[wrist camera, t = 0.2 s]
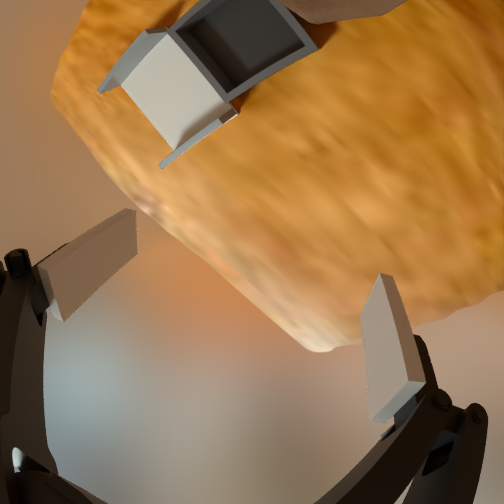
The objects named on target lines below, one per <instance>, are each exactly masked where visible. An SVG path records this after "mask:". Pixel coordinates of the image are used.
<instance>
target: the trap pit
mask: <svg viewBox="0 0 504 504" xmlns="http://www.w3.org/2000/svg"><path fill="white" fill-rule="evenodd" d="M166 33H167V34H168V35H169V36H170V37H171V38H172V39H173V40H174V42H175V43H176V44H177V45H178V46H179V47H180V48H181V50H182V51H183V52H184V53H185V54H186V55H187V57H188V58H189V59H190V60H191V61H192V63H193V64H194V65H195V66H196V67H197V69H198V70H199V71H200V72H201V73H202V75H203V76H204V77H205V78H206V80H207V81H208V82H209V83H210V85H211V86H212V87H213V88H214V90H215V91H216V92H217V93H218V95H219V96H220V97H221V98H222V100H223V101H224V102H225V104H226V103H228V102H230V101H231V100H233V99H234V98H236V97H238V96H239V95H241V94H242V93H244V92H245V91H247V90H248V89H250V88H252V87H253V86H255V85H256V84H258V83H260V82H261V81H263V80H264V79H266V78H268V77H269V76H271V75H273V74H275V73H276V72H278V71H280V70H282V69H283V68H285V67H287V66H289V65H290V64H292V63H294V62H296V61H298V60H300V59H302V58H304V57H306V56H307V55H309V54H311V53H313V52H315V51H317V50H319V49H320V47H319V46H318V45H317V43H316V42H315V40H314V39H313V38H312V36H311V35H310V34H309V32H308V31H307V30H306V28H305V27H304V26H303V25H302V23H301V22H300V21H299V19H298V18H297V17H296V16H295V14H294V13H293V12H292V11H291V10H290V9H289V8H287V7H286V6H284V5H282V4H281V3H280V2H279V1H277V0H201V1H199V2H198V3H197V4H196V5H195V6H193V7H192V8H191V9H190V10H189V11H188V12H186V13H185V14H184V15H183V16H182V17H181V18H180V19H178V20H177V21H176V22H175V23H174V24H173V25H172V26H171V27H170V28H169V29H168V30H167V31H166Z"/></svg>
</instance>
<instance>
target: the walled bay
mask: <svg viewBox="0 0 504 504" xmlns="http://www.w3.org/2000/svg"><path fill="white" fill-rule="evenodd" d="M168 29H169V28H168V27H164V28H155V29H145V30H143V32H142V33H141V34H140V35H139V36H138V37H137V38H136V39H135V41H134V42H133V43H132V44H131V45H130V47H129V48H128V49H127V50H126V51H125V53H124V54H123V55H122V56H121V58H120V59H119V60H118V61H117V63H116V64H115V65H114V67H113V68H112V69H111V71H110V72H109V73H108V75H107V76H106V78H105V79H104V80H103V82H102V83H101V85H100V86H99V88H98V89H97V91H98V92H99V93H100V94H101V93H104V92H106V91H108V90H111V89H113V88H116V87H118V86H120V85H121V86H122V88H123V89H124V90H125V91H126V93H127V94H128V95H129V96H130V97H131V99H132V100H133V101H134V102H135V103H136V105H137V106H138V107H139V108H140V110H141V111H142V112H143V113H144V114H145V116H146V117H147V118H148V119H149V121H150V122H151V123H152V124H153V125H154V127H155V128H156V129H157V130H158V132H159V133H160V134H161V135H162V136H163V138H164V139H165V140H166V141H167V143H168V144H169V145H170V146H171V148H172V149H173V150H174V151H173V152H172V153H171V154H170V155H169V156H167V157H166V158H165V159H164V160H163V161H161V162H160V163H159V164H158V165H159V167H160V168H161V169H163V168H164V167H166V166H167V165H168V164H169V163H171V162H172V161H173V160H174V159H176V158H177V157H178V156H180V155H181V154H183V153H184V152H185V151H187V150H188V149H189V148H191V147H192V146H193V145H195V144H196V143H197V142H199V141H200V140H202V139H203V138H204V137H206V136H207V135H209V134H210V133H211V132H213V131H214V130H216V129H217V128H219V127H220V126H222V125H223V124H225V123H226V122H228V121H229V120H231V119H232V118H234V117H235V116H237V115H238V114H239V113H238V112H237V111H236V109H235V108H234V107H233V105H232V104H231V103H230V102H228V103H226V104H225V102H224V101H223V100H222V98H221V97H220V96H219V95H218V93H217V92H216V91H215V90H214V88H213V87H212V86H211V85H210V83H209V82H208V81H207V80H206V78H205V77H204V76H203V75H202V73H201V72H200V71H199V70H198V69H197V67H196V66H195V65H194V64H193V63H192V61H191V60H190V59H189V58H188V57H187V55H186V54H185V53H184V52H183V51H182V50H181V48H180V47H179V46H178V45H177V44H176V43H175V42H174V40H173V39H172V38H171V37H170V36H169V35H168V34H167V33H166V31H167V30H168Z"/></svg>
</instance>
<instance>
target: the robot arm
mask: <svg viewBox="0 0 504 504" xmlns="http://www.w3.org/2000/svg"><path fill="white" fill-rule="evenodd" d="M135 255H137V234H136V211H135V210H130V209H126V208H125V209H124V210H122V211H120V212H118V213H117V214H115V215H113V216H111V217H110V218H108V219H106V220H105V221H103V222H101V223H100V224H98V225H97V226H95V227H93V228H92V229H90V230H88V231H87V232H85V233H84V234H82V235H80V236H79V237H77V238H76V239H74V240H73V241H71V242H69V243H67V244H64V245H63V246H61V247H60V248H58V249H57V250H55V251H54V252H53V253H52V254H50V255H48V256H47V257H45V258H44V259H43V260H41V261H40V262H38V263H37V264H36V265H34V266H33V267H32V266H31V262H30V258H29V254H28V251H27V250H26V249H15V250H13V251H10V252H9V253H8V254H6V256H5V257H4V260H5V264H6V267H7V270H8V271H5V270H4V267H3V263H2V262H1V261H0V504H107V503H106V502H104V501H102V500H101V499H99V498H97V497H96V496H94V495H92V494H91V493H89V492H88V491H86V490H84V489H83V488H81V487H79V486H77V485H75V484H73V483H71V482H69V481H67V480H66V479H64V478H62V477H60V476H59V475H58V470H57V467H56V463H55V460H54V458H53V456H52V455H51V453H50V451H49V448H48V444H47V437H46V428H45V417H44V399H43V360H44V344H45V331H46V322H47V313H46V309H47V308H48V307H49V306H50V309H51V311H52V314H53V316H54V317H56V318H57V319H59V320H60V321H62V322H64V321H65V320H66V319H67V318H69V317H70V315H71V314H72V313H74V312H75V311H76V310H77V309H78V308H79V307H80V306H81V305H82V304H83V303H84V302H85V301H86V300H87V299H88V298H89V297H90V296H91V295H92V294H93V293H94V292H95V291H97V289H98V288H100V287H101V286H102V285H103V284H104V283H105V282H106V281H107V280H108V279H110V278H111V277H112V276H113V275H114V274H115V273H116V272H117V271H118V270H119V269H121V268H122V267H123V266H124V265H125V264H126V263H127V262H129V261H130V260H131V259H132V258H133V257H134V256H135ZM360 321H361V328H362V336H363V345H364V354H365V364H366V376H367V390H368V409H369V422H380V423H386V422H387V421H388V420H389V419H390V418H391V417H393V416H394V423H395V424H394V425H392V426H391V427H390V428H389V429H388V430H387V431H385V432H384V433H383V434H382V435H381V437H382V438H381V439H380V440H379V441H378V443H377V444H376V445H375V446H374V447H373V448H372V449H371V450H370V452H369V453H368V454H367V455H366V456H365V457H364V458H363V459H362V460H361V461H360V462H359V463H358V464H357V465H356V466H355V467H354V468H353V469H352V470H351V471H350V472H349V473H348V474H347V475H346V476H345V477H344V478H343V479H342V480H341V481H340V482H339V483H338V484H336V485H335V486H334V487H333V488H332V489H331V490H330V491H329V492H327V493H326V494H325V495H324V496H323V497H322V498H321V499H319V500H318V501H317V502H315V503H314V504H394V503H395V502H396V500H397V499H398V498H399V497H400V495H401V494H402V493H403V491H404V490H405V489H406V487H407V486H408V485H409V483H410V482H411V480H412V479H413V478H414V479H413V481H412V483H411V486H410V488H409V490H408V493H407V495H406V497H405V499H404V501H403V503H402V504H473V501H474V497H475V494H476V490H477V486H478V482H479V478H480V473H481V468H482V463H483V458H484V452H485V445H486V437H487V428H488V416H487V413H486V411H485V409H484V408H483V407H482V406H481V405H480V404H477V403H472V404H470V405H469V406H468V407H467V408H466V409H465V410H464V409H461V408H459V407H456V406H453V405H452V401H451V398H450V397H449V395H448V394H447V393H446V392H445V391H443V390H442V389H439V388H438V385H437V381H436V377H435V374H434V370H433V367H432V363H431V360H430V357H429V355H428V350H427V347H426V344H425V343H424V341H423V340H422V338H421V337H420V336H418V335H414V334H413V333H412V329H411V326H410V323H409V320H408V317H407V314H406V311H405V308H404V305H403V303H402V300H401V297H400V294H399V292H398V289H397V286H396V284H395V281H394V279H393V276H390V275H386V274H383V273H379V275H378V277H377V280H376V282H375V284H374V286H373V288H372V290H371V292H370V295H369V297H368V299H367V301H366V303H365V305H364V307H363V309H362V311H361V313H360ZM14 466H16V467H17V468H18V469H19V470H20V471H21V472H16V473H15V472H14Z"/></svg>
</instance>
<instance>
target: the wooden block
mask: <svg viewBox="0 0 504 504" xmlns="http://www.w3.org/2000/svg"><path fill="white" fill-rule="evenodd" d="M277 1H279V2H280V3H281V4H282V5H284V6H286V7H287V8H289V9H290V10H292V11H293V12H295V13H296V14H298V15H299V16H301V17H302V18H304V19H305V20H306V21H308V22H309V23H311V24H316V25H319V24H324V23H329V22H335V21H341V20H347V19H355V18H363V17H373V16H382V15H384V14H386V13H388V12H389V11H391V10H392V9H394V8H396V7H397V6H399V5H400V4H402V3H404V2H405V1H407V0H277Z"/></svg>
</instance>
